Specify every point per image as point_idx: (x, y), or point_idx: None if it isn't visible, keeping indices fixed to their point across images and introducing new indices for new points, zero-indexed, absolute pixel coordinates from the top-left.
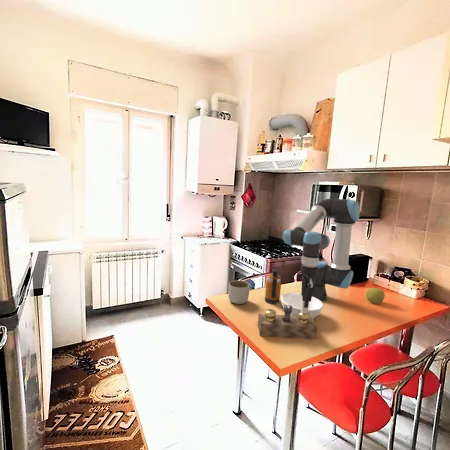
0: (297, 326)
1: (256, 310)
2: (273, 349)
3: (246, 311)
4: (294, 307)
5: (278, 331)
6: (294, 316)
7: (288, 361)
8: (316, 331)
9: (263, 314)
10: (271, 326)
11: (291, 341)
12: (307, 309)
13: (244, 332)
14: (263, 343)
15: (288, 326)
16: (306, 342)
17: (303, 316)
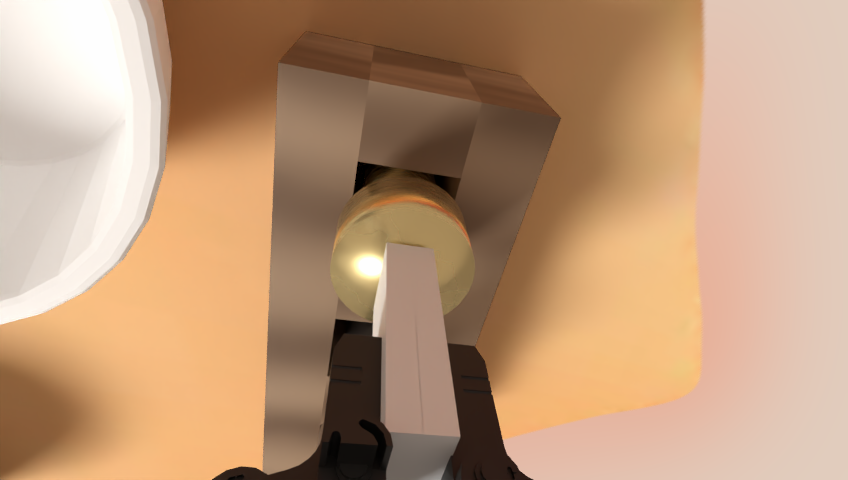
0: (489, 302)
1: (28, 377)
2: (558, 389)
3: (78, 432)
4: (111, 256)
5: None
6: (284, 265)
7: (678, 355)
8: (543, 104)
9: (272, 469)
10: None
11: (505, 281)
12: (438, 302)
13: None
14: None
15: None
16: (543, 184)
17: (457, 294)
